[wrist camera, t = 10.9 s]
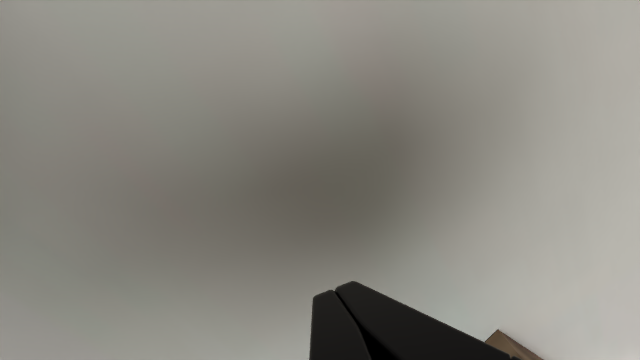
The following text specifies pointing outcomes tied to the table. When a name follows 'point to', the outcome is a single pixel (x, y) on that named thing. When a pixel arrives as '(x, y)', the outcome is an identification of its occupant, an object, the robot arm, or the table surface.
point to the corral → (510, 346)
